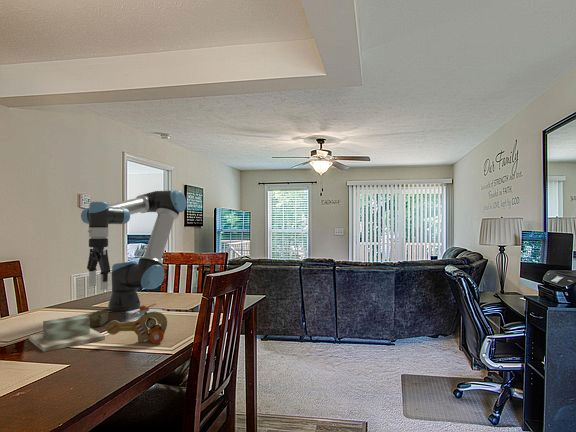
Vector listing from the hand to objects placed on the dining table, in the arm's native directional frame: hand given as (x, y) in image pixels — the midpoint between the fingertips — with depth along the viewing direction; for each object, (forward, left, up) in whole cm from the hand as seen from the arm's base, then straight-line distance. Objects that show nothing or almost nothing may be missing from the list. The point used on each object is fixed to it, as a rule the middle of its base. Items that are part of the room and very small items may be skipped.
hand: (98, 287), depth 175 cm
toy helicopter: (-1, +38, -16) cm, 41 cm away
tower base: (+17, +16, -15) cm, 28 cm away
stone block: (0, 0, -16) cm, 16 cm away
